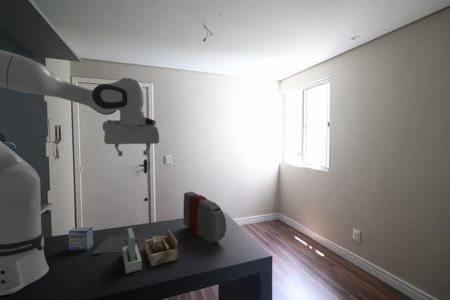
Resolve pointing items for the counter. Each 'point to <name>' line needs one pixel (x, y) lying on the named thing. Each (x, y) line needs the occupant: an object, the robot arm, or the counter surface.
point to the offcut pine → (157, 241)
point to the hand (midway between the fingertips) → (133, 155)
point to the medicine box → (80, 238)
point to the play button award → (119, 243)
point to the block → (131, 245)
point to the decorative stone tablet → (204, 217)
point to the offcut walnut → (157, 249)
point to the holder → (134, 264)
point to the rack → (169, 250)
